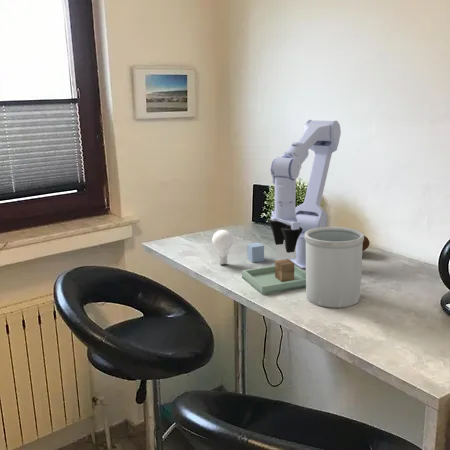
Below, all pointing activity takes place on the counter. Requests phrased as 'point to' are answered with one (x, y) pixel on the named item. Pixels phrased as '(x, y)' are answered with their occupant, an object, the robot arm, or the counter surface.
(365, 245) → the potato
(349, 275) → the utensil holder
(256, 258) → the bluegrey block
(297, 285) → the tray
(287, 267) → the walnut block
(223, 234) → the lightbulb
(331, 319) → the counter surface
